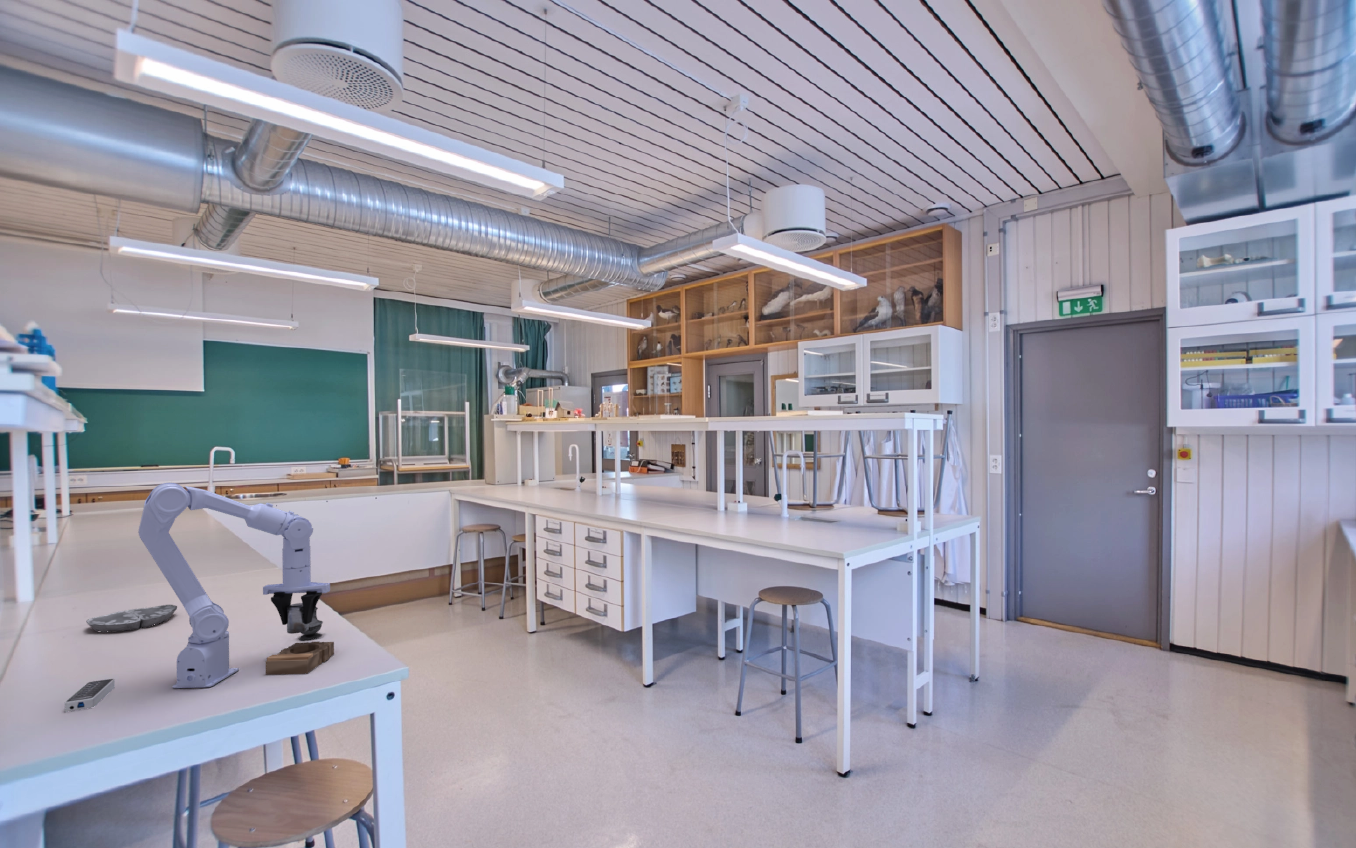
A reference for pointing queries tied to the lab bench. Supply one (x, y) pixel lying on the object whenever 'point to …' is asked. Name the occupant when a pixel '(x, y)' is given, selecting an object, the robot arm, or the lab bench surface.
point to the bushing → (296, 619)
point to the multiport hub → (89, 695)
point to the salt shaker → (312, 629)
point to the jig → (299, 658)
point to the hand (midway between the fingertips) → (297, 623)
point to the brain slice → (132, 618)
